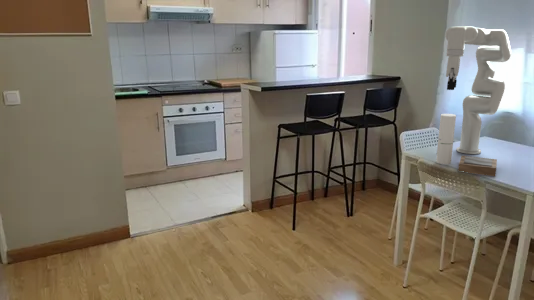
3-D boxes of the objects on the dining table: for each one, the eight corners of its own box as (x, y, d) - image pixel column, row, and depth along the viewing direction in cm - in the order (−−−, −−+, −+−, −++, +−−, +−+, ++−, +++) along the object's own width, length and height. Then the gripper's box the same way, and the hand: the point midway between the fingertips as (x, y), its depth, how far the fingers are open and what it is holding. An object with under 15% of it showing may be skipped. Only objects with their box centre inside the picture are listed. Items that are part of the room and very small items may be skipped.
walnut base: (460, 162, 215) (461, 154, 214) (495, 167, 208) (497, 158, 207) (457, 171, 202) (458, 163, 200) (495, 176, 194) (496, 167, 193)
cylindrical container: (445, 159, 220) (450, 113, 214) (453, 163, 214) (459, 115, 207) (433, 160, 219) (437, 114, 212) (441, 164, 212) (446, 116, 206)
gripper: (448, 52, 211) (445, 86, 215) (444, 53, 196) (441, 90, 200) (464, 52, 207) (461, 87, 212) (462, 54, 192) (458, 91, 197)
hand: (451, 88), depth 206 cm, fingers open, 9 cm apart
